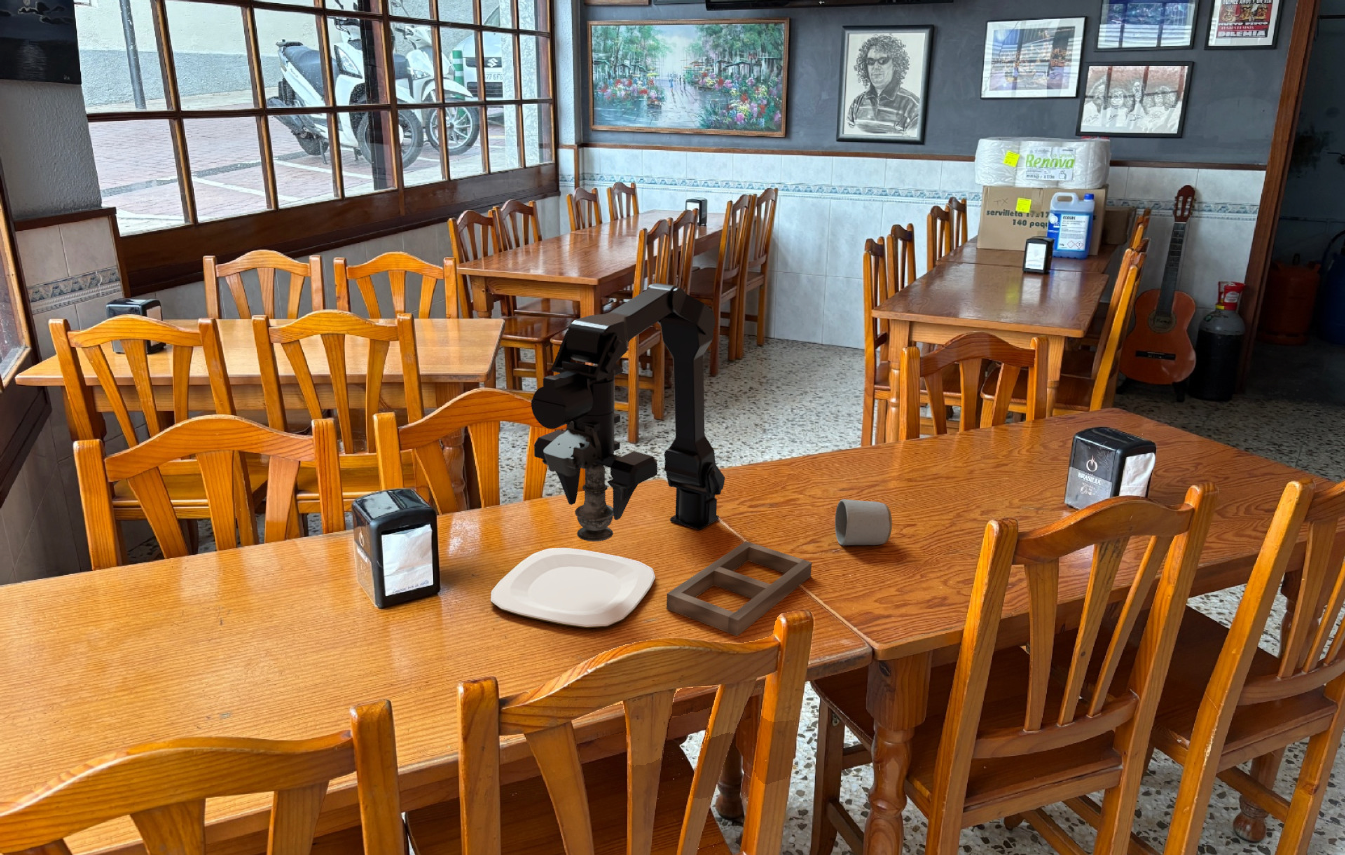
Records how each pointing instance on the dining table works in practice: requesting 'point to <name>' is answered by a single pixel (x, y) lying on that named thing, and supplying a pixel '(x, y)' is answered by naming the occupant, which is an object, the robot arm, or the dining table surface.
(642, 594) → the plate
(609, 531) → the salt shaker
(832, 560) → the dining table surface
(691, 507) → the robot arm
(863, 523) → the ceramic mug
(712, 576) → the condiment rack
